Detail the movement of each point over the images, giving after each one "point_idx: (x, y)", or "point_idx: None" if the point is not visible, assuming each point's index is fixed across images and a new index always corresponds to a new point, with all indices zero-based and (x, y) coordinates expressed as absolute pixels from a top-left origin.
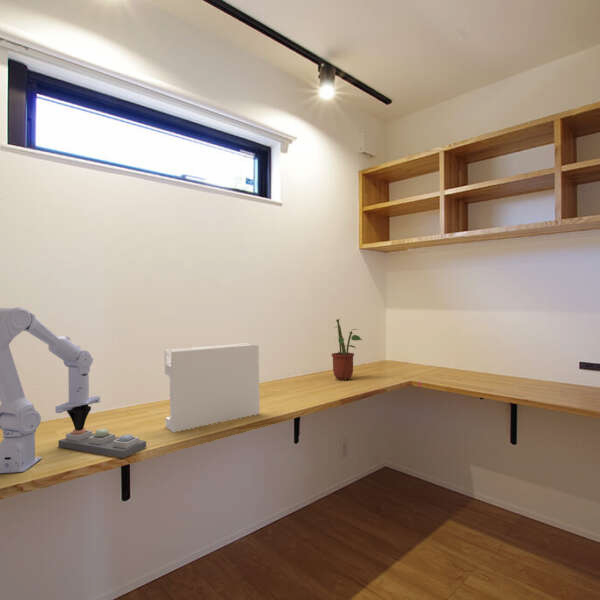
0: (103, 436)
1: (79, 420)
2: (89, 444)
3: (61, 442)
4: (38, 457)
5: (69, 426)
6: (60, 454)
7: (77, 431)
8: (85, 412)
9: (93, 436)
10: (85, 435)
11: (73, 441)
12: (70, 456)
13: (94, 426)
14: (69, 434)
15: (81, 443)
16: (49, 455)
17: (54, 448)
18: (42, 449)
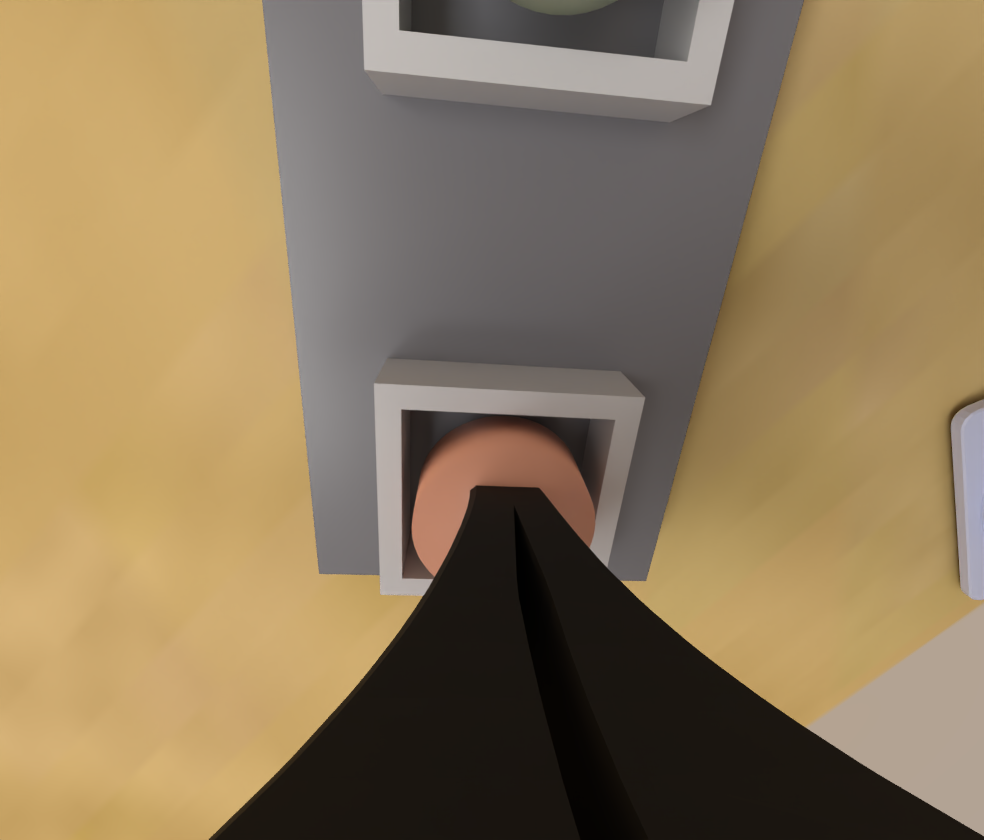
0: (408, 25)
1: (633, 602)
2: (755, 14)
3: (651, 531)
4: (974, 437)
5: (181, 833)
6: (820, 343)
7: (583, 485)
8: (507, 776)
9: (633, 56)
10: (499, 376)
11: (649, 404)
12: (892, 160)
13: (40, 697)
14: (611, 547)
15: (717, 215)
16: (844, 427)
17: (660, 538)
18: (695, 603)
